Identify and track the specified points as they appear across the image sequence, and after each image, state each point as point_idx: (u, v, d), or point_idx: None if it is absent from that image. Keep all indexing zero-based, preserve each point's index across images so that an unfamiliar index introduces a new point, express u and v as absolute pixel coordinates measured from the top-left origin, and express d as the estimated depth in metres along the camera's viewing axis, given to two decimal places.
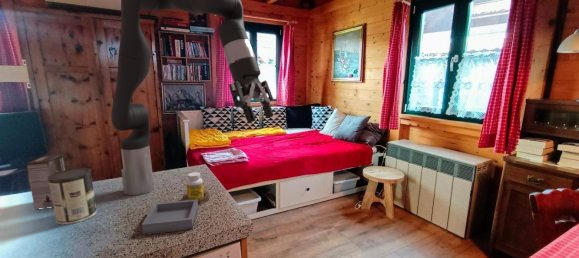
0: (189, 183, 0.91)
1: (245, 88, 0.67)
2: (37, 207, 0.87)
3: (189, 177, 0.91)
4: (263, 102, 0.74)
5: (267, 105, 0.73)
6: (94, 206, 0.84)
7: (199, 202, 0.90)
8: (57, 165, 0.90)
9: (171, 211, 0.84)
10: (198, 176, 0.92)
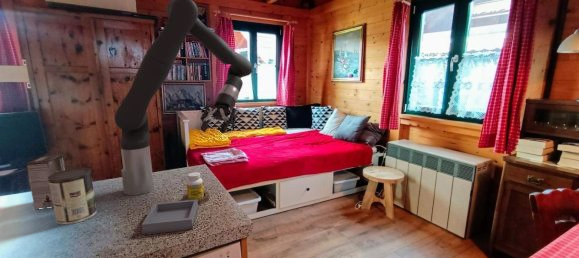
0: (189, 183, 0.91)
1: (228, 115, 1.04)
2: (37, 207, 0.87)
3: (189, 177, 0.91)
4: (207, 120, 1.04)
5: (207, 124, 1.04)
6: (94, 206, 0.84)
7: (199, 202, 0.90)
8: (57, 165, 0.90)
9: (171, 211, 0.84)
10: (198, 176, 0.92)
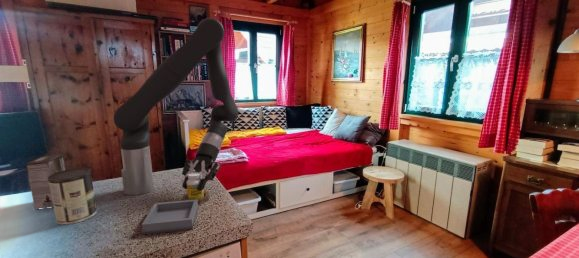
0: (189, 183, 0.91)
1: None
2: (37, 207, 0.87)
3: (189, 177, 0.91)
4: None
5: None
6: (94, 206, 0.84)
7: (199, 202, 0.90)
8: (57, 165, 0.90)
9: (171, 211, 0.84)
10: (198, 176, 0.92)
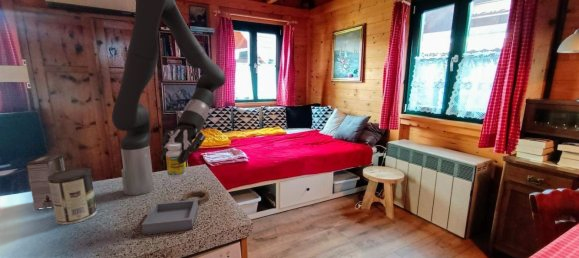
0: (169, 154, 0.78)
1: (194, 139, 0.84)
2: (37, 207, 0.87)
3: (169, 147, 0.78)
4: None
5: None
6: (94, 206, 0.84)
7: (199, 202, 0.90)
8: (57, 165, 0.90)
9: (171, 211, 0.84)
10: (179, 146, 0.79)
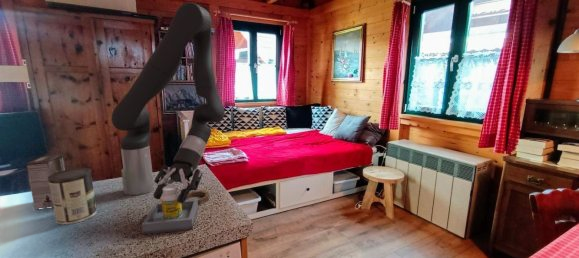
0: (164, 198, 0.77)
1: None
2: (37, 207, 0.87)
3: (164, 191, 0.77)
4: (162, 183, 0.82)
5: None
6: (94, 206, 0.84)
7: (199, 202, 0.90)
8: (57, 165, 0.90)
9: None
10: (175, 190, 0.78)
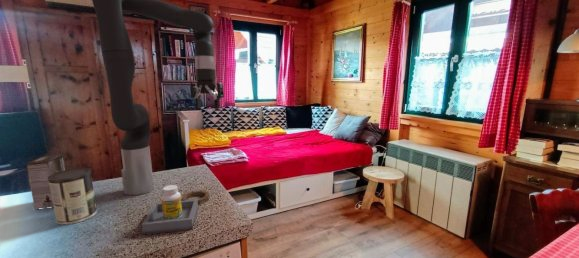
0: (164, 198, 0.77)
1: None
2: (37, 207, 0.87)
3: (164, 191, 0.77)
4: (197, 97, 1.10)
5: (200, 100, 1.11)
6: (94, 206, 0.84)
7: (199, 202, 0.90)
8: (57, 165, 0.90)
9: None
10: (175, 190, 0.78)
